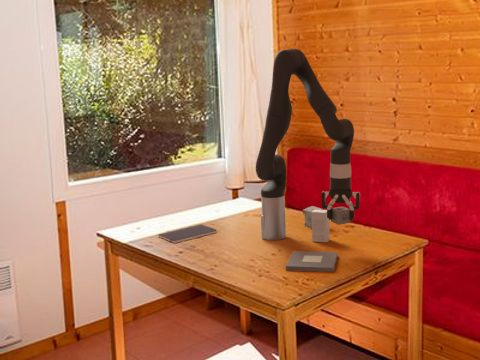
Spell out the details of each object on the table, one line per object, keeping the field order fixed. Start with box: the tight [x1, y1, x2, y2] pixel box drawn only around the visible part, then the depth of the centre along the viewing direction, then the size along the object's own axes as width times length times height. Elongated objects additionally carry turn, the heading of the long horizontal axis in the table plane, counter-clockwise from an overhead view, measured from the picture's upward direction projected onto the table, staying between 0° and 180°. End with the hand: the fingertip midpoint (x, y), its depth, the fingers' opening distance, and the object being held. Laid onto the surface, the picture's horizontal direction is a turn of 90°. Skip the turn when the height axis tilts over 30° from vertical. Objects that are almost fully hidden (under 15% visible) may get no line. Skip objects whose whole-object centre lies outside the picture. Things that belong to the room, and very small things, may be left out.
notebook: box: [158, 224, 217, 244], centre depth 253 cm, size 13×2×21 cm
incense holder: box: [302, 205, 324, 228], centre depth 254 cm, size 8×6×8 cm
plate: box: [285, 250, 339, 273], centre depth 210 cm, size 16×16×2 cm
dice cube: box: [330, 206, 351, 226], centre depth 219 cm, size 5×5×5 cm
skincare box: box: [311, 209, 331, 243], centre depth 234 cm, size 6×4×12 cm
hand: (340, 219), depth 219 cm, fingers closed on dice cube, 7 cm apart
